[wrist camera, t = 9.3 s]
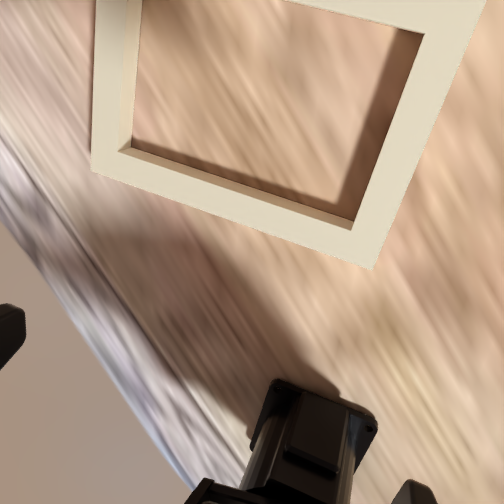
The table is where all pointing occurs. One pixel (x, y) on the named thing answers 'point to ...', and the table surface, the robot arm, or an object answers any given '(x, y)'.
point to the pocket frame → (262, 203)
